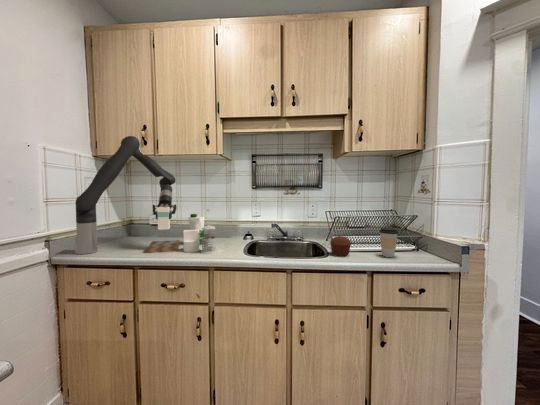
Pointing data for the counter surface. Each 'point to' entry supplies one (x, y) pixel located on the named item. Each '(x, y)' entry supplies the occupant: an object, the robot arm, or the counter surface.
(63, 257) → the counter surface
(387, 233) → the coffee cup
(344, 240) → the muffin
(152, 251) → the brown shallow square tray
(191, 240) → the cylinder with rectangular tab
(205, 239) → the french press
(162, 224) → the cream carton
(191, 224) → the milk carton
